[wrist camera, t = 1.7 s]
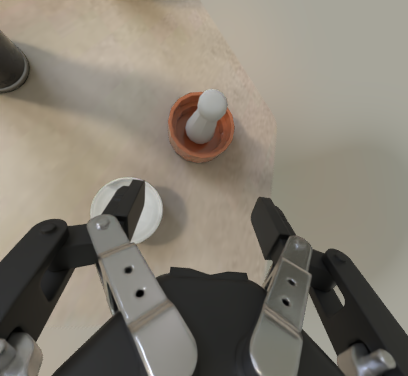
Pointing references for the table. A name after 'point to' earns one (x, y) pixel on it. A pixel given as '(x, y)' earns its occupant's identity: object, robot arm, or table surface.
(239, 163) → the table surface
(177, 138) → the bowl
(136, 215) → the robot arm
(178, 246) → the table surface
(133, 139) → the table surface
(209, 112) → the salt shaker
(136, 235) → the ramekin
